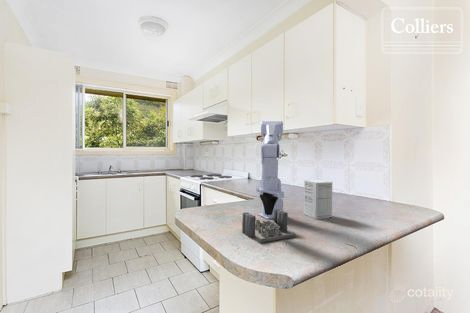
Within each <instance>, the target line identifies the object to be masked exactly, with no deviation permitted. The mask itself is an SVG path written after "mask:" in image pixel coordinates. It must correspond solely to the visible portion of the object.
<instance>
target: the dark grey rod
mask: <svg viewBox="0 0 470 313" xmlns="http://www.w3.org/2000/svg"><path fill="white" fill-rule="evenodd" d="M296 235H297V234H296V233H294V232H292V233H287V234H282V235H278V236H269V237H263V238H260V239H259V240H258V243H259V244H262V243H267V242H269V243H270V242H274V241H279V240H284V239H290V238H296Z"/></svg>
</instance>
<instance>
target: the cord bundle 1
mask: <svg viewBox="0 0 470 313" xmlns="http://www.w3.org/2000/svg"><path fill="white" fill-rule="evenodd" d="M256 220H257V217H256V215H253V214H252V213H249V212H242V222H241V223H242V225H241V226H242V227H241V228H242V230H241V233H242V234H244V235H245V236H247V237H248V238H250V239H254V238H256V229H255V224H256Z"/></svg>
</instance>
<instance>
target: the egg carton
mask: <svg viewBox="0 0 470 313" xmlns="http://www.w3.org/2000/svg"><path fill="white" fill-rule="evenodd" d="M279 228H280V227H279V226H278V224H276V223H275V222H274V220H266V221H265V220H263V221H262V222H261V221H260V220H259V219H256V221H255V231H256V230H257V233H259V234H260V236H261V237H263V238H269V237H275V236H280V230H279Z"/></svg>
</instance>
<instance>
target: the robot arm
mask: <svg viewBox="0 0 470 313" xmlns="http://www.w3.org/2000/svg"><path fill="white" fill-rule="evenodd" d="M283 133H284V122H283V121H282V120H281V121H271V120H270V121H269V120H268V121H266V120H265V121H264V120H262V121H261V123H260V134H261V138H262V140H263V144H262V145H261V148H260V158H261V179H260V180H259V186H258V185H257V186H256V187H255V188H256V192H257V193H258V192H259V198H260V200H261V212H259V213H257V215H258V216H260V217H263V218H265V219H266V220H267V219H268V220H269V219H274V209H279V210H280V211H284V201H283V199H284V198H285V192H284V191H282V181H281V178H279V177H278V175H279V174H278V173H279V160H280V155H281V154H280V153H281V152H280V151H281V147H280V143H279V141H282V138H283Z"/></svg>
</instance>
